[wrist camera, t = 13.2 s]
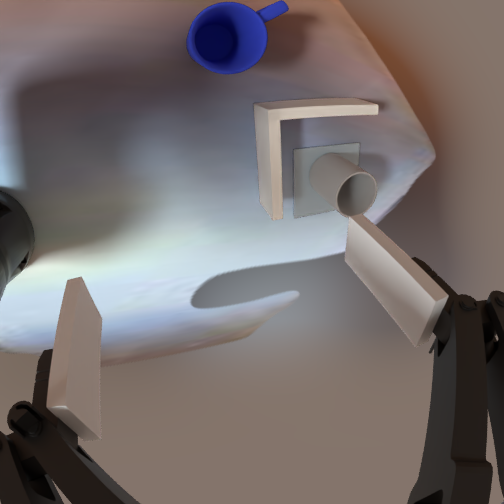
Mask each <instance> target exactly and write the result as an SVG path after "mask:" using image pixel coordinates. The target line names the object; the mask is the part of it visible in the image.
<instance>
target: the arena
mask: <svg viewBox="0 0 504 504" xmlns="http://www.w3.org/2000/svg"><path fill="white" fill-rule="evenodd" d="M253 105H254V119H255V134H256V149H257V165H258V181H259V197H260V204H261V205H262V206H263V208H264V209H265V210H266V212H267V213H268V214H269V216H270V217H271V219H272V220H278V219H283V201H282V163H281V134H280V120H287V119H299V118H311V117H326V116H347V115H378V105H377V104H374V103H371V102H367V101H364V100H361V99H358V98H321V99H300V100H285V101H272V102H261V103H253Z"/></svg>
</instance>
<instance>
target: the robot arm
mask: <svg viewBox="0 0 504 504" xmlns="http://www.w3.org/2000/svg"><path fill="white" fill-rule="evenodd" d="M33 248H34V232H33V227H32V224H31V221H30V219H29V217H28V215H27V213H26V212H25V210H24V209H23V207H22V206H21V205H20V204H19V203H18V202H17V201H16V200H15V199H14V198H12V197H11V196H10V195H8V194H6V193H4V192H2V191H0V300H1V297H2V295H3V292H4V290H5V287H6V285H7V284H8V283H9V282H10V281H11V280H12V279H14V278H15V277H16V276H17V275H18V274H19V273H21V272H22V271H23V269H24V268H25V267H26V265H27V263H28V261H29V259H30V257H31V254H32V252H33ZM344 260H345V262H346V263H347V264H348V265H349V266H350V267H351V268H352V269H353V271H354V272H355V273H356V274H357V276H358V277H359V278H360V279H361V280H362V281H363V283H364V284H365V285H366V286H367V288H368V289H369V290H370V291H371V292H372V294H373V295H374V296H375V297H376V298H377V300H378V301H379V302H380V303H381V305H382V306H383V307H384V308H385V309H386V311H387V312H388V313H389V314H390V316H391V317H392V318H393V319H394V321H395V322H396V323H397V324H398V326H399V327H400V328H401V329H402V331H403V332H404V333H405V335H406V336H407V337H408V338H409V340H410V341H411V342H412V344H413V345H414V346H415V347H417V346H420V345H421V344H424V343H425V342H427V341H428V340H429V338H430V336H431V334H432V332H433V333H434V334H435V335H436V339H435V341H434V343H433V345H432V347H431V348H430V351H429V353H432V351H433V349H434V365H433V381H432V392H431V402H430V403H431V404H430V411H429V419H428V427H427V433H426V440H425V447H424V452H423V457H422V463H421V468H420V472H419V477H418V480H417V482H416V484H415V486H414V487H413V489H412V491H411V493H410V496H409V500H408V503H407V504H488V503H489V498H490V491H491V483H492V475H493V467H492V465H491V463H489V462H488V461H486V443H487V417H488V412H489V416H490V422H491V427H492V433H493V439H494V445H495V451H496V459H497V465H498V466H497V467H498V475H499V481H500V486H501V490H502V494H503V497H504V293H503V292H501V291H493V292H491V293H490V295H489V297H488V299H487V300H482V301H476V300H475V299H474V298H472V297H471V296H468V295H463V294H461V295H458V294H457V293H456V292H455V291H454V290H453V289H452V288H451V287H450V286H449V285H448V284H447V283H445V281H443V279H442V278H440V277H439V276H437V274H436V273H435V272H434V271H432V269H431V268H430V267H429V266H428V265H427V264H426V263H425V262H423V261H421V260H419V259H418V258H416V257H414V258H410V257H409V256H408V255H407V254H406V253H405V252H404V251H403V250H402V249H401V248H399V247H398V246H397V245H396V244H395V243H394V242H393V241H392V240H391V239H390V238H389V237H387V236H386V235H385V234H384V233H383V232H382V231H381V230H380V229H379V228H377V227H376V226H375V225H374V224H373V223H372V222H371V221H370V220H368V219H367V218H366V217H365V216H364V215H363V214H358V215H354V216H349V225H348V234H347V243H346V251H345V259H344ZM101 331H102V317H101V315H100V313H99V312H98V310H97V308H96V306H95V304H94V302H93V300H92V298H91V295H90V293H89V291H88V289H87V287H86V285H85V283H84V281H83V279H82V277H78V278H74V279H70V280H67V284H66V288H65V292H64V296H63V301H62V305H61V310H60V315H59V320H58V325H57V330H56V336H55V342H54V348H53V349H49V350H44V351H43V353H42V355H41V357H40V359H39V361H38V366H37V374H36V379H35V380H36V382H35V386H34V393H33V402H32V404H31V403H30V402H27V401H20V402H17V403H16V404H14V405H13V406H12V408H11V409H10V411H9V414H8V417H7V423H8V426H9V428H10V429H11V430H12V431H14V433H11V434H9V435H5V434H3V433H2V432H1V431H0V501H1V504H64V503H63V501H62V499H61V497H60V495H59V493H58V491H57V489H56V487H55V485H54V483H55V484H56V485H57V486H58V488H59V489H60V490H61V491H62V492H63V494H64V495H65V496H66V497H67V498H68V500H69V501H70V502H71V503H72V504H140V503H139V502H138V501H136V500H135V499H134V498H133V497H132V496H131V495H129V494H128V493H127V492H126V491H125V490H124V489H123V488H122V487H120V486H119V485H118V484H117V483H116V482H115V481H114V480H113V479H112V478H111V477H110V476H109V475H108V474H107V473H106V472H105V471H104V470H103V469H102V468H101V467H100V466H99V465H98V464H97V463H96V462H95V461H94V460H93V459H92V458H91V457H90V456H89V455H88V454H87V453H86V452H85V451H84V450H83V448H82V447H81V446H80V445H78V436H79V437H80V438H82V439H83V440H84V441H93V440H102V436H101V417H100V416H101V415H100V353H101ZM496 334H497V336H498V341H497V340H496V338H495V336H496ZM487 410H488V411H487ZM52 480H53V481H54V483H53V482H52ZM501 504H504V502H502V503H501Z"/></svg>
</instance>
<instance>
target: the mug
mask: <svg viewBox="0 0 504 504" xmlns="http://www.w3.org/2000/svg"><path fill="white" fill-rule="evenodd" d="M288 10H289V8H288V6H287V4H286V3H285V2H284V1H282V0H281V1H278V2H276V3H274V4H271V5H269V6H267V7H265V8H263V9H261V10H259V11H257V12H255V11H254V10H253V9H251V8H249V7H248V6H245V5H243V4H240V3H235V2H222V3H217V4H214V5H212V6H209V7H207V8H206V9H204V10H203V11H202V12H200V13H199V14H198V15H197V17H196V18H195V19H194V21H193V22H192V24H191V27H190V30H189V33H188V36H187V41H186V44H187V50H188V53H189V54H190V56H191V57H192V59H193V60H194V61H196V62H197V63H198V64H200V65H202V66H203V67H205V68H206V69H208V70H210V71H213V72H216V73H220V74H235V73H239V72H243V71H245V70H247V69H249V68H251V67H252V66H253V65H255V64H256V63H257V62H258V61H259V60H260V58H261V57H262V56H263V54H264V52H265V49H266V46H267V41H268V35H267V29H266V26H265V24H264V23H265V22H267V21H269V20H271V19H273V18H275V17H277V16H279V15H281V14H283V13H285V12H287V11H288Z"/></svg>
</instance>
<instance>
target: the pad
mask: <svg viewBox="0 0 504 504" xmlns="http://www.w3.org/2000/svg"><path fill="white" fill-rule="evenodd" d="M359 148H360V143H348V144H337V145H327V146H318V147H309V148H301V149H293V172H294V219H295V218H299V217H304V216H309V215H314V214H319V213H324V212H329V211H334V210H336V209H335V208H334V207H333V206H332V205H330V204H329V203H328V202H327V201H326V200H325V199H324V198H323V197H322V196H320V195H319V194H318V193H317V192H316V191H315V190H314V189H313V188H312V186H311V184H310V180H309V172H310V169H311V166H312V165H313V163H314V162H315V161H316V160H317V159H318V158H319V157H321V156H322V155H324V154H327V153H335V154H338V155H340V156H342V157H344V158H345V159H347V160H349V161H350V162H352V163H353V164H355V165H357V166H358V163H359Z"/></svg>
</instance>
